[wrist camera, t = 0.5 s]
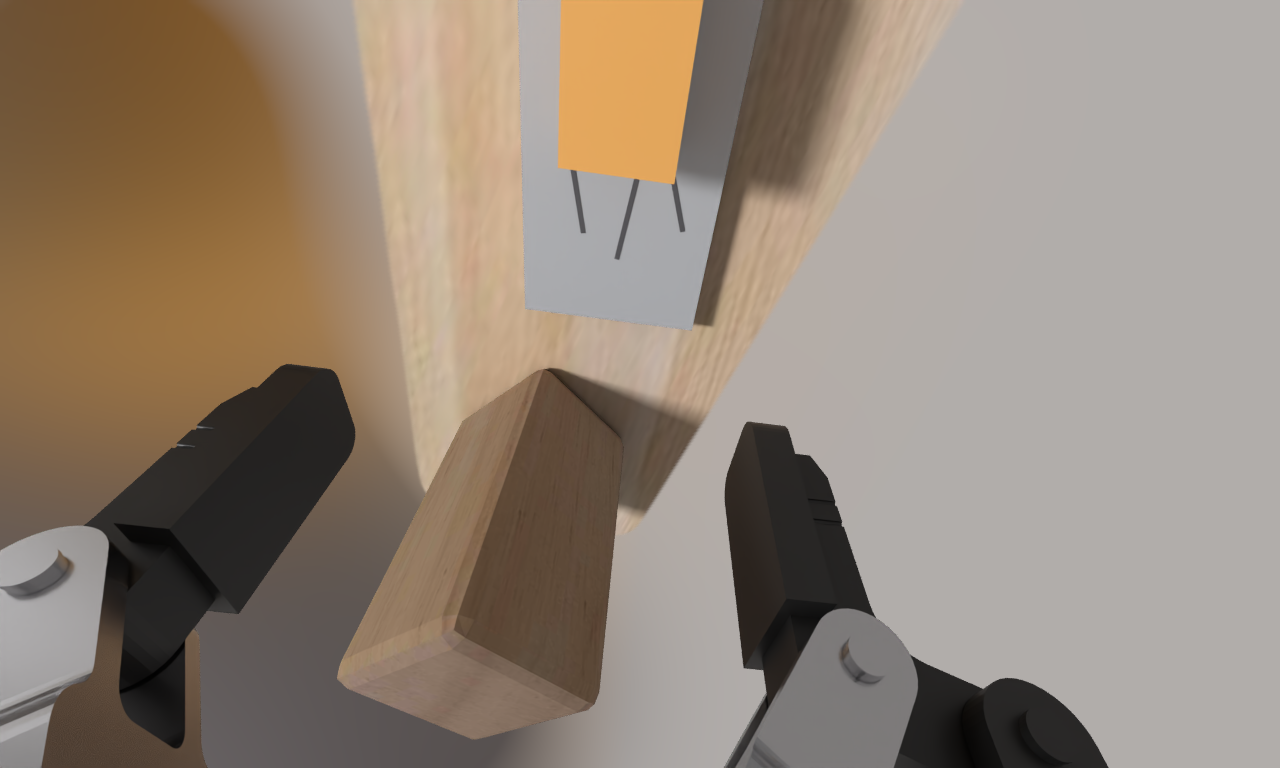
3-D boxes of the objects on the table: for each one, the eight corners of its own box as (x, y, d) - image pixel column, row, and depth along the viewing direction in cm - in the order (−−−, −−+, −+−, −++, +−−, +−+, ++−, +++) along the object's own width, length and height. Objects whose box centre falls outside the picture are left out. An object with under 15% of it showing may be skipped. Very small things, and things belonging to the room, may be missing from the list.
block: (629, 439, 40) (605, 714, 24) (544, 485, 44) (475, 747, 28) (545, 359, 36) (448, 633, 20) (458, 418, 40) (320, 686, 24)
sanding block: (588, -100, 20) (563, -137, 15) (708, -80, 20) (721, -111, 15) (578, 139, 25) (557, 167, 21) (672, 153, 26) (674, 184, 21)
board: (523, -121, 21) (514, -129, 19) (775, -79, 21) (782, -85, 20) (530, 298, 33) (525, 309, 32) (690, 319, 33) (691, 330, 32)
